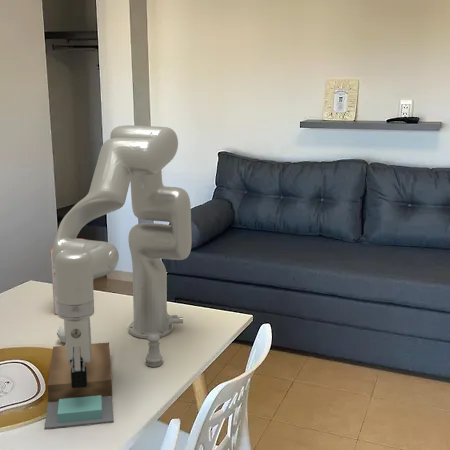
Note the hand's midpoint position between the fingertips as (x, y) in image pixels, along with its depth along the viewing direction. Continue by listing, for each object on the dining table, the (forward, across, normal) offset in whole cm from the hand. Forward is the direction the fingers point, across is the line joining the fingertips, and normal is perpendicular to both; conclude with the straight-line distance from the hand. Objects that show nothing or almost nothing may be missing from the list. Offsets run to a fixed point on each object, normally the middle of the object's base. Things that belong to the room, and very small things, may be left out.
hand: (79, 385), depth 129 cm
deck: (+5, +13, 0) cm, 14 cm away
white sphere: (+5, +33, +4) cm, 34 cm away
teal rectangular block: (+3, -4, 0) cm, 4 cm away
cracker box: (+5, +60, +4) cm, 60 cm away
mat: (+5, -3, 0) cm, 6 cm away
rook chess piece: (+5, +17, -18) cm, 25 cm away
